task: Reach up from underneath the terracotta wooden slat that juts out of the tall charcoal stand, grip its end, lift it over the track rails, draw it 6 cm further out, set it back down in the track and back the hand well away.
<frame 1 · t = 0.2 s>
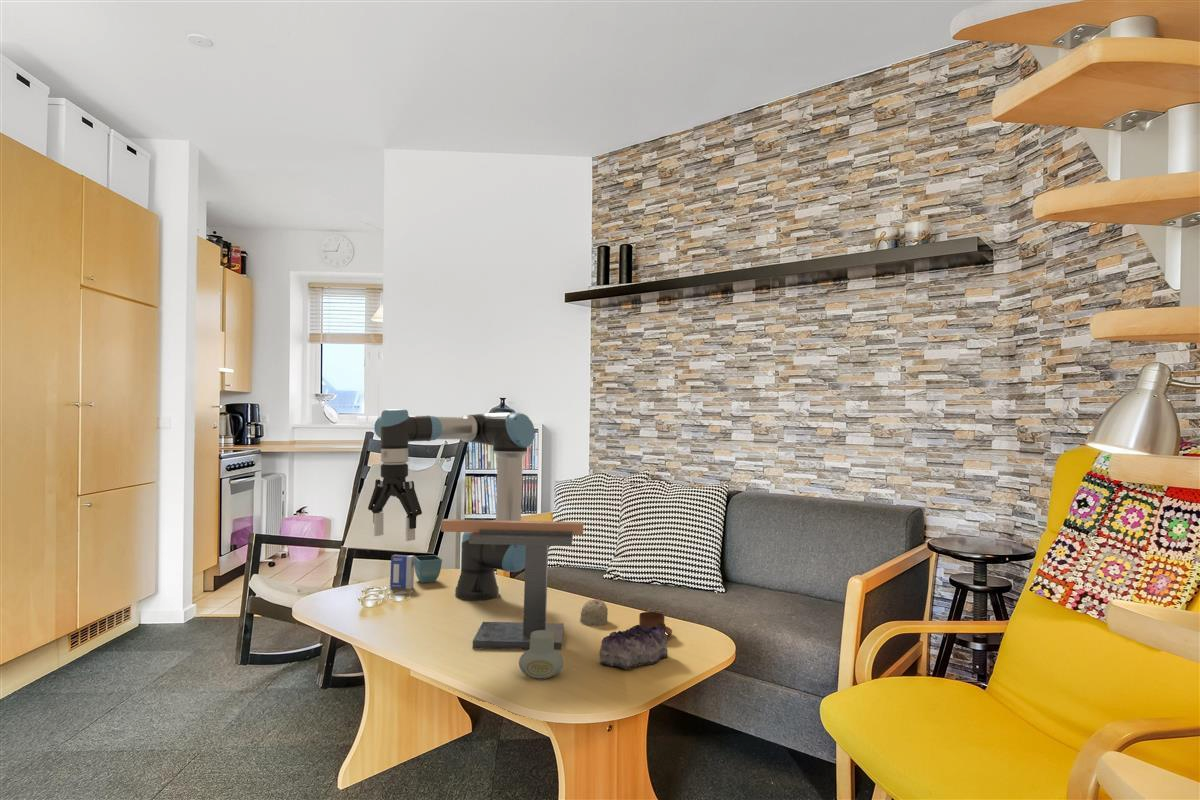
hand: (394, 537, 193), 27 cm above the table, fingers open, 13 cm apart
air freshener: (540, 675, 165), on the table
slat: (513, 532, 194), point 30 cm above the table, touching stand
cup and saucer: (651, 637, 198), on the table
flower pot: (427, 581, 259), on the table
geode: (635, 662, 177), on the table
walkman: (401, 588, 247), on the table
stand: (520, 638, 192), on the table
beige rough dome: (594, 622, 211), on the table
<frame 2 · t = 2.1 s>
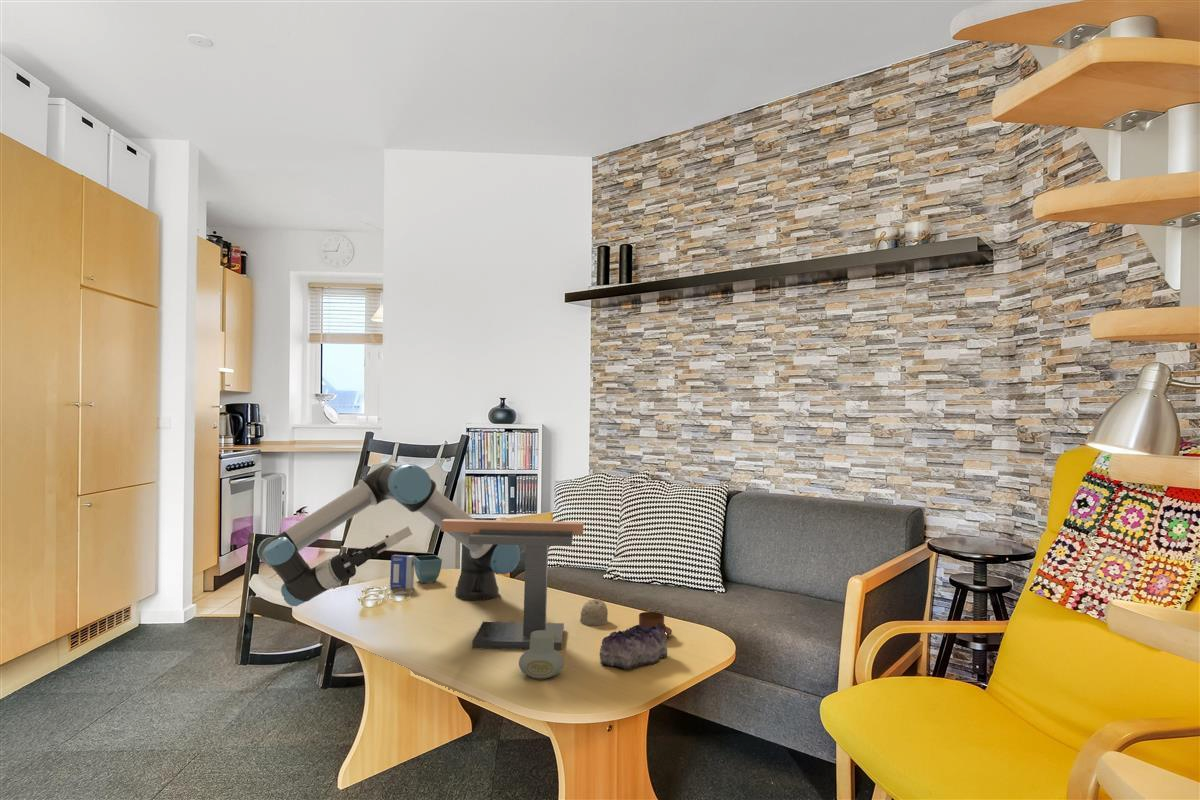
hand: (403, 534, 193), 29 cm above the table, fingers open, 13 cm apart
nothing on the table moved.
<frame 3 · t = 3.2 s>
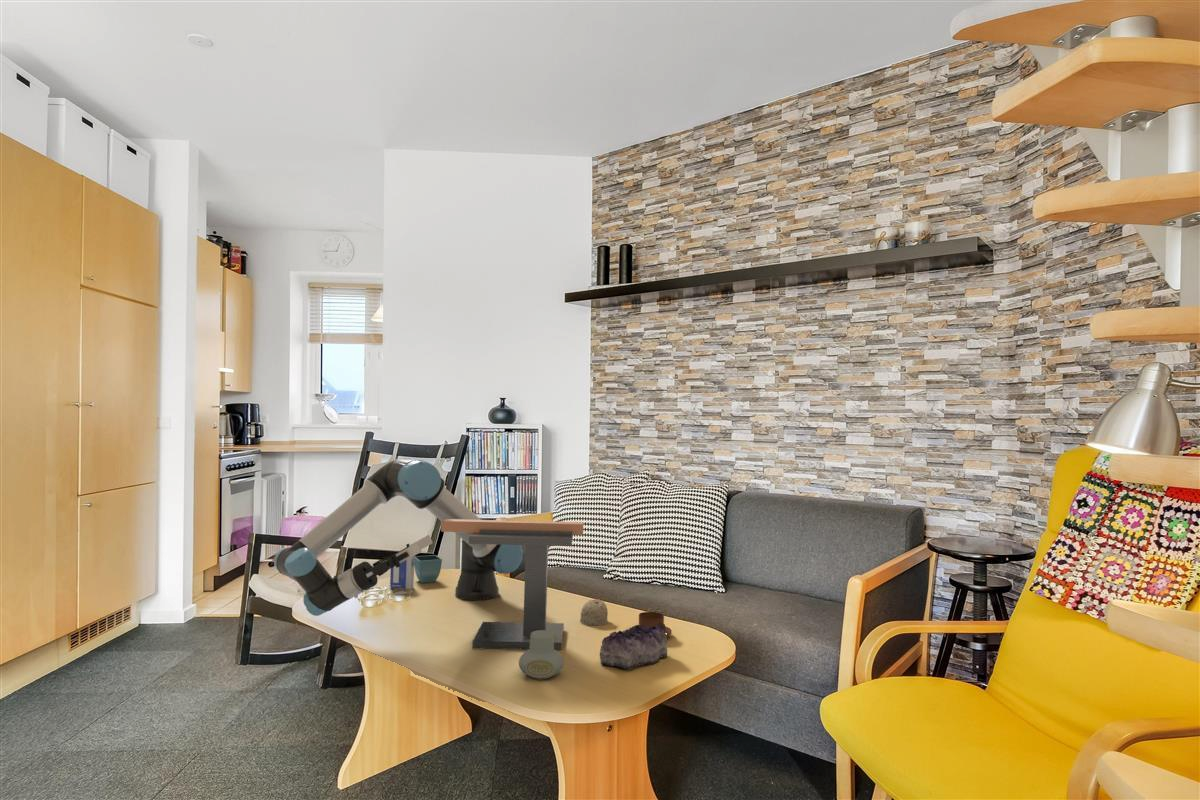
hand: (425, 542, 193), 26 cm above the table, fingers open, 13 cm apart
nothing on the table moved.
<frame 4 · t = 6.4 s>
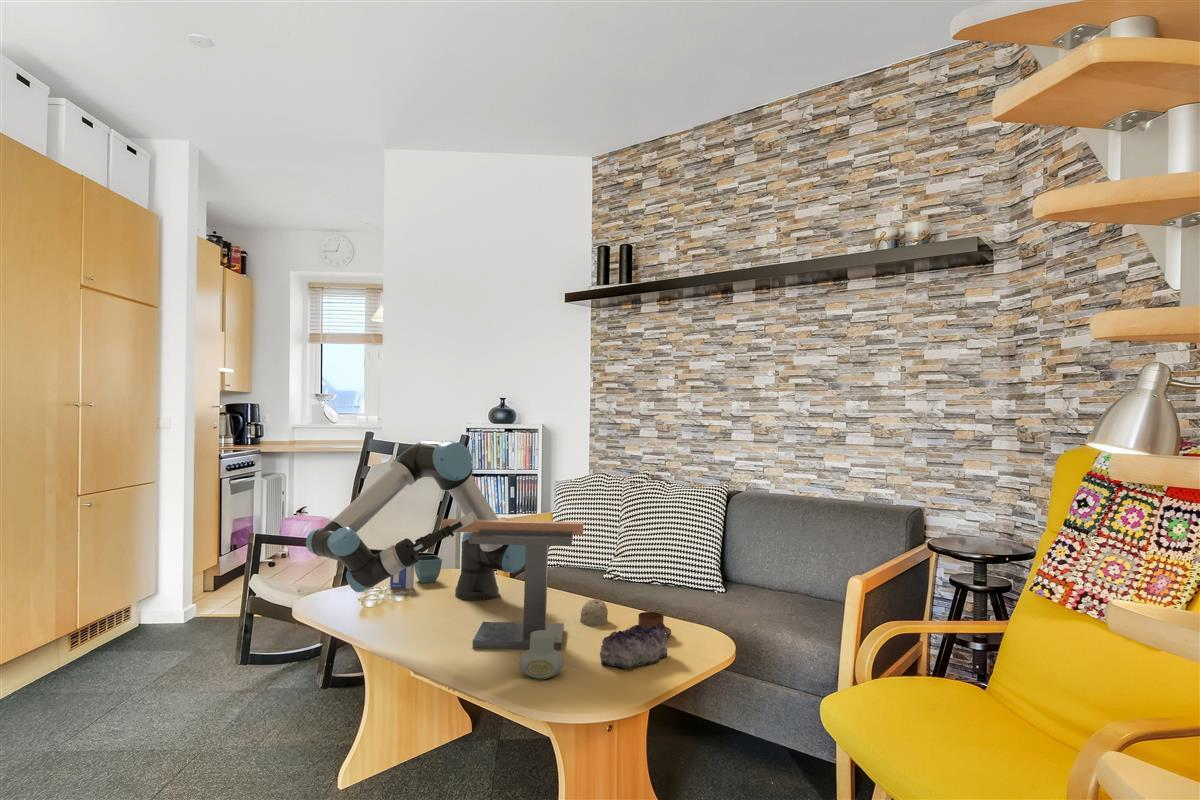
hand: (473, 516, 193), 34 cm above the table, fingers closed on slat, 4 cm apart
slat: (513, 532, 194), point 30 cm above the table, touching gripper, stand
everything else where it was.
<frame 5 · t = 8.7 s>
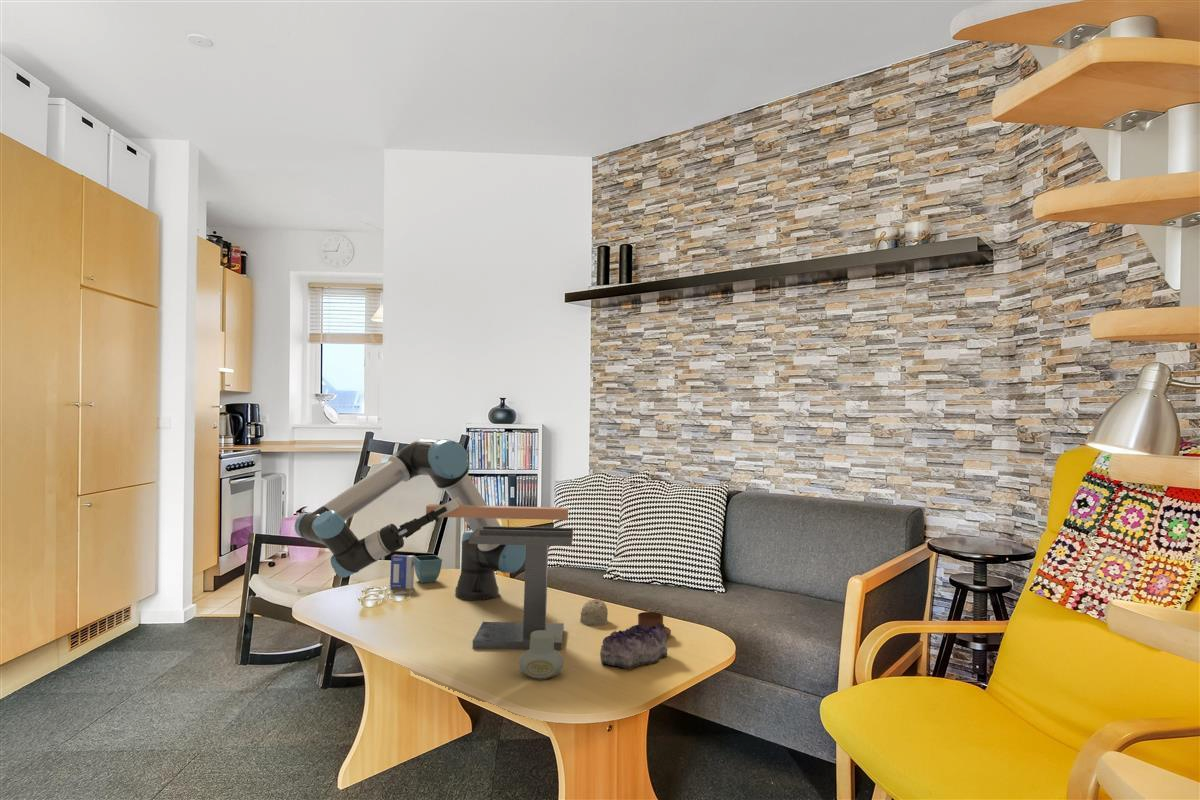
hand: (458, 501, 194), 38 cm above the table, fingers closed on slat, 4 cm apart
slat: (497, 517, 194), point 34 cm above the table, touching gripper
everything else where it was.
when the fingers open (35 cm above the table, at t = 10.0 s): slat drops 1 cm, resting on stand.
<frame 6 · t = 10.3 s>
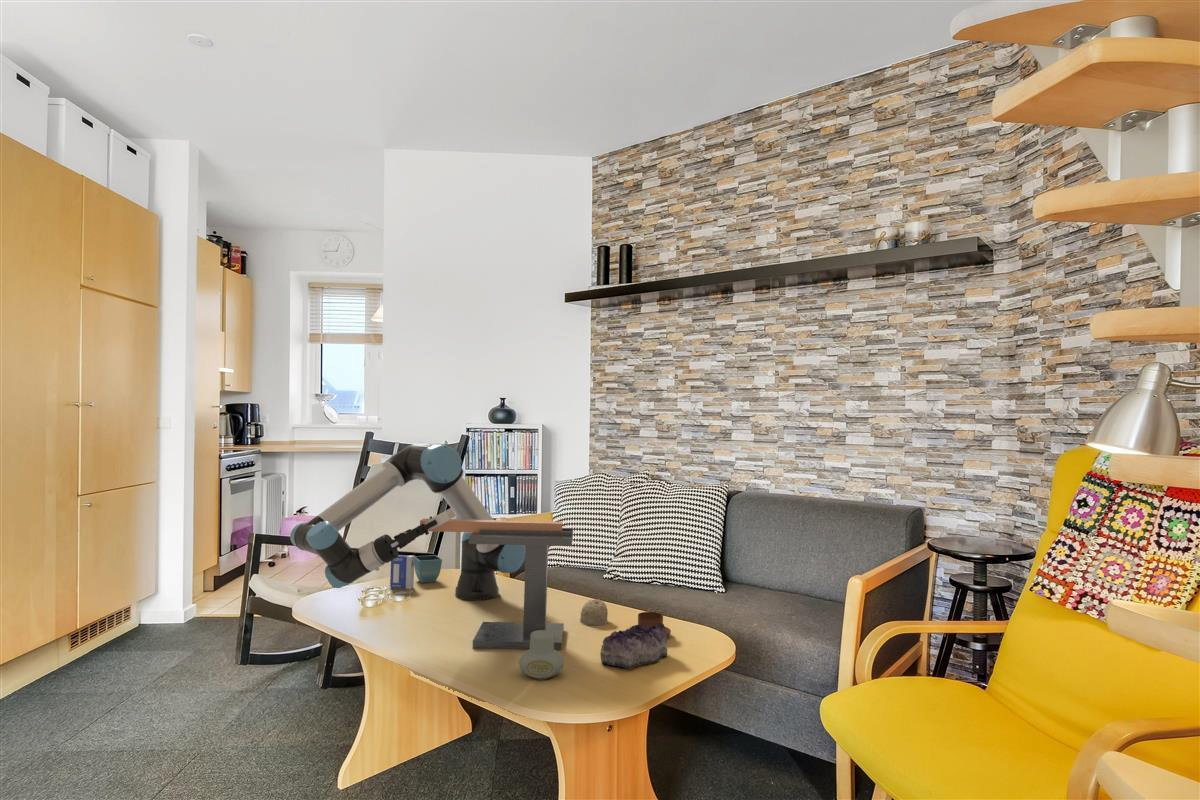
hand: (450, 513, 193), 35 cm above the table, fingers open, 8 cm apart
slat: (491, 531, 193), point 30 cm above the table, touching stand
everything else where it was.
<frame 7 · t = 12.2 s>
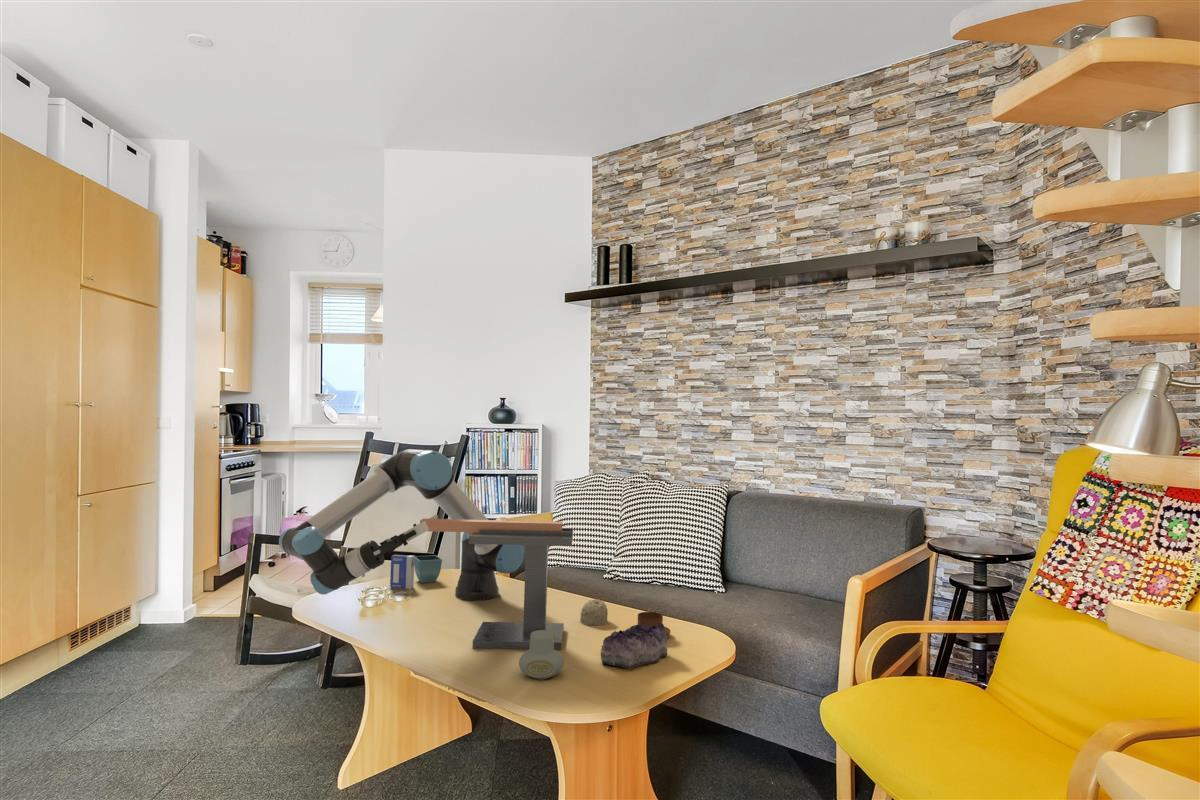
hand: (432, 522, 193), 32 cm above the table, fingers open, 13 cm apart
nothing on the table moved.
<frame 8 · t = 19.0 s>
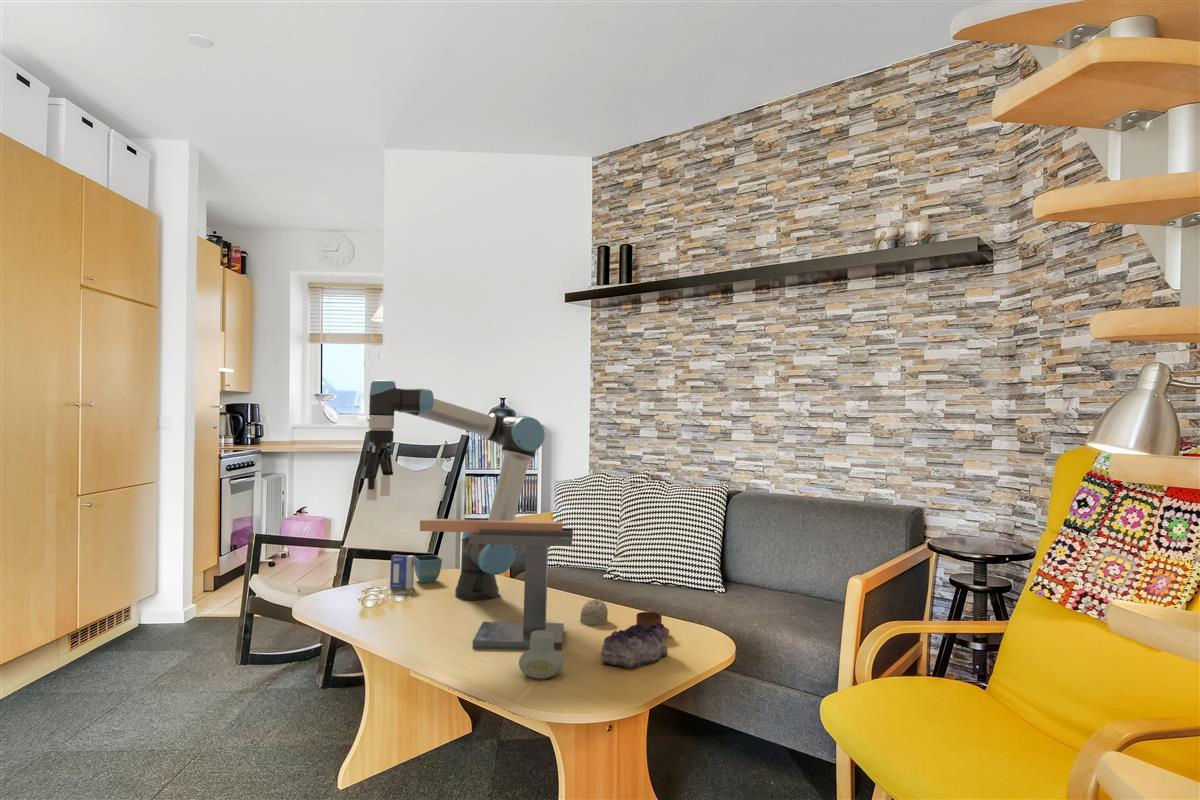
hand: (378, 498, 211), 37 cm above the table, fingers open, 13 cm apart
nothing on the table moved.
at the end: slat moved 6.0 cm from its start; slat point 30.0 cm above the table; slat tilted 0° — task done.
